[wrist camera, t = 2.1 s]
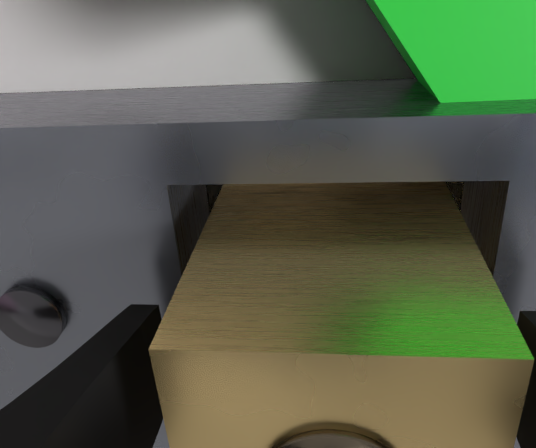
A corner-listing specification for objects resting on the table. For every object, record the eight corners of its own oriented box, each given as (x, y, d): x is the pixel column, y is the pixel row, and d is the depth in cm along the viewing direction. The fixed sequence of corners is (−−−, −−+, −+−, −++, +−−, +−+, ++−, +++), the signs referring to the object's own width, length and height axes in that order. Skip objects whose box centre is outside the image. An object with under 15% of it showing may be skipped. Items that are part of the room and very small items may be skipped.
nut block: (418, 322, 15) (483, 594, 9) (247, 319, 15) (192, 570, 9) (433, 159, 13) (538, 367, 6) (232, 163, 13) (144, 357, 7)
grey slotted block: (499, 379, 15) (538, 477, 13) (59, 365, 17) (4, 449, 14) (560, 73, 11) (640, 115, 8) (-29, 94, 13) (-132, 136, 10)
